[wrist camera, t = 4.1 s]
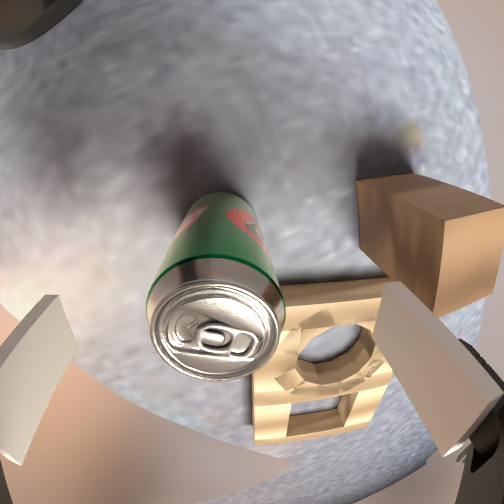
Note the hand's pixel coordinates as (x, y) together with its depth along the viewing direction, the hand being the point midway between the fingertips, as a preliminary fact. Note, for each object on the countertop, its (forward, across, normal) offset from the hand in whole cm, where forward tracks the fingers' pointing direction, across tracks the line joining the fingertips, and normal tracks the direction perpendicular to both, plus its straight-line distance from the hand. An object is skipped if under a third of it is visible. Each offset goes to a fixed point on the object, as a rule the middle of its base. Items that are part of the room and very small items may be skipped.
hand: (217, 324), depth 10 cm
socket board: (+11, +9, -14) cm, 20 cm away
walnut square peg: (+11, +13, +2) cm, 17 cm away
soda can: (+11, 0, +1) cm, 11 cm away
